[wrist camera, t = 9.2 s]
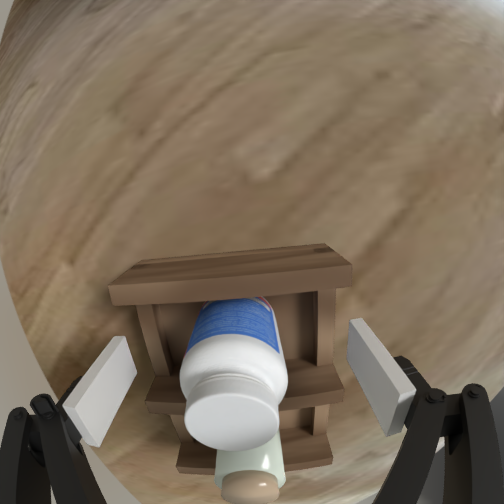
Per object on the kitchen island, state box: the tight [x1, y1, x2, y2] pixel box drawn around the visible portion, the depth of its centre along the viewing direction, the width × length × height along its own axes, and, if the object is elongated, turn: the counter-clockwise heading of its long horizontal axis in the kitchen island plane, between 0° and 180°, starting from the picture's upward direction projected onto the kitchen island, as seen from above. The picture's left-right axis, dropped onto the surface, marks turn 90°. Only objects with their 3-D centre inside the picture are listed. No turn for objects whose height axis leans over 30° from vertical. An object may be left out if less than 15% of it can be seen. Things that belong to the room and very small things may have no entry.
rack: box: [108, 243, 352, 475], centre depth 19 cm, size 18×13×6 cm
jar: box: [214, 428, 285, 504], centre depth 17 cm, size 5×5×9 cm
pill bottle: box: [180, 297, 288, 451], centre depth 15 cm, size 6×5×10 cm
